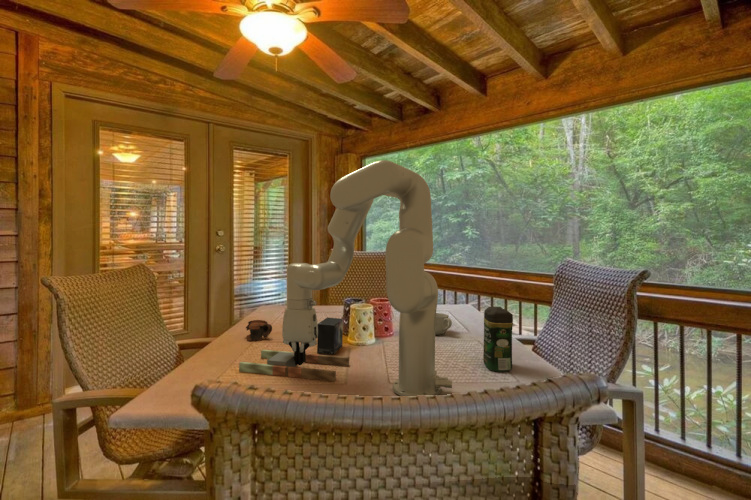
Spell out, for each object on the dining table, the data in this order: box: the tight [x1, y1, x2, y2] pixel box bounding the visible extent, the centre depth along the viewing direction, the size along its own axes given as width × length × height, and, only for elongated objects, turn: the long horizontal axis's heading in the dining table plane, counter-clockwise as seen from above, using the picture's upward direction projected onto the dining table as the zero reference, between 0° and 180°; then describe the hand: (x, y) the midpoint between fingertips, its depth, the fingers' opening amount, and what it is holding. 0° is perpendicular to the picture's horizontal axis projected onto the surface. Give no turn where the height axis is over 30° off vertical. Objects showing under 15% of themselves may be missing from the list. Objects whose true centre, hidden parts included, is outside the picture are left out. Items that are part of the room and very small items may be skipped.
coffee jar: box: [482, 306, 514, 373], centre depth 116 cm, size 10×8×19 cm
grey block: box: [266, 351, 298, 367], centre depth 114 cm, size 6×8×4 cm
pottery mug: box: [245, 319, 273, 342], centre depth 148 cm, size 12×10×8 cm
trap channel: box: [238, 349, 350, 382], centre depth 115 cm, size 30×13×2 cm, turn 76°
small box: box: [316, 317, 344, 356], centre depth 133 cm, size 11×6×10 cm, turn 168°
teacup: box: [435, 312, 453, 336], centre depth 155 cm, size 14×11×8 cm
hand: (299, 363), depth 115 cm, fingers closed
